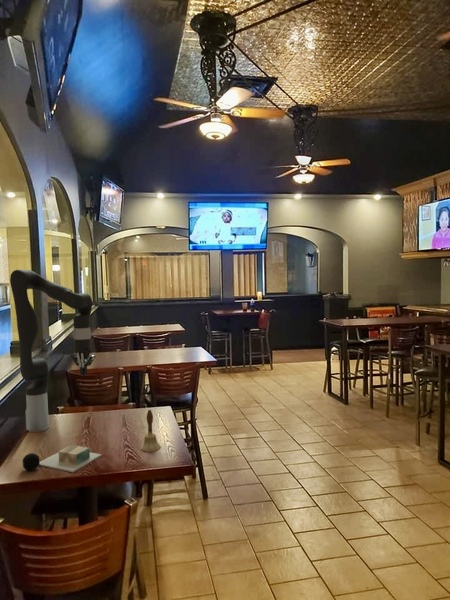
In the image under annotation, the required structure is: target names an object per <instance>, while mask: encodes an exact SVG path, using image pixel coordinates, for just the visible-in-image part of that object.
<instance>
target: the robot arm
mask: <svg viewBox="0 0 450 600" xmlns="http://www.w3.org/2000/svg"><path fill="white" fill-rule="evenodd" d="M9 277H10V278H9V282H10V283H9V285H10V288H11V292H12V296H13V302H14V308H15V309H14V310H15V316H16V327H17V335H18V344H19V369H20V375H21V377H22V379H23V380H25V381H33V380H34V381H33V382H32V383H31V384H30V385H28V386H27V387H26V388H25V400H26V409H25V412H24V413H25V428H26V430H27V431H28V432H30V433H38V432H44V431H46V430H48V429H49V428H50V424H49V423H50V422H49V421H50V420H49V407H48V406H49V403H48V386H49V367H48V363H47V361H46V359H44V358H42V357H38V358H33V347H34V345H35V343H36V340H37V338H38V335H39V333H40V324H39V316H38V314H37V312H36V310H35V308H34V307H33V306H32V304H31V302H30V299H29V295H28V290H35V291H40V292H42V293H43V294H45V295H46V296H48V297H49V298H51V299H53V300H55V301H57V302H60V303H63V304H64V305H66V306H67V307H69V308H70V309H72V310H73V309H74V310H78V311H77V313H76V314H75V315H74V317H73V348H74V353H73V354H70V357H71V359H72V361H73V362H74V364H75V366H76V367H77V366H78V368H79V373H80V376H87V374H88V367H90V366H92V364H93V362H94V360H95V359H96V355H95V354H94V355H93V353H92V350H91V348H92V333H91V332H92V331H91V322H90V318H91V314H92V309H93V299H92V296H91V295H90V294H88V293H87V292H84V293H83V292H82V293H75V292H73V290H72V289H71V288H69V287H66V286H64V285H61V284H58V283H55V282H53V281H51V280H48V279H46V278H44V277H42V276H41V275H40V274H38V273H36V272H35V271H33V270H30V269H14V270H13V271H12V272H11V274H10V276H9Z"/></svg>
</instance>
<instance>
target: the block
mask: <svg viewBox="0 0 450 600" xmlns="http://www.w3.org/2000/svg"><path fill="white" fill-rule="evenodd" d="M58 452H59V462H64V463H69V464H75V465H78V464H80V463H82V462H84V461H85V460H87V459H89V458H90V452H91V451H90V447H86V446H79V445H73V444H70V445H69V446H67V447H64V448H62V449H60V450H59V451H58Z"/></svg>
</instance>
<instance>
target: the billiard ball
mask: <svg viewBox="0 0 450 600" xmlns="http://www.w3.org/2000/svg"><path fill="white" fill-rule="evenodd" d="M40 460H41V459H40V456H39V455H38V454H36V453H34V452H33V453H32V452H30V453H28V454H26V455H25V456H23V458H22V467H23V468H24V470H26V471H34V470H36V469H37V468H38V467H40V466H39V463H40Z"/></svg>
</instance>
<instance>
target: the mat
mask: <svg viewBox="0 0 450 600" xmlns="http://www.w3.org/2000/svg"><path fill="white" fill-rule="evenodd" d="M89 452H90V458H89V459H87V460H85V461H84V462H82V463H80V464H78V465H75V464H69V463H64V462H59V451H58V452H57V453H54V454H53V455H50V456H47V458H44V459H43V460H41V461H40V463H39V466H38V467H44V468H49V469H54V470H59V471H65V472H69V473H70V472H71V473H74V472H76V471H78V470H80V469H81V468H83V467H85V466H86V465H88V464H91V462H93V461H95V460H97V459H99V458H100V457H102V454H100V453H96V452H91V451H89Z"/></svg>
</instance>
